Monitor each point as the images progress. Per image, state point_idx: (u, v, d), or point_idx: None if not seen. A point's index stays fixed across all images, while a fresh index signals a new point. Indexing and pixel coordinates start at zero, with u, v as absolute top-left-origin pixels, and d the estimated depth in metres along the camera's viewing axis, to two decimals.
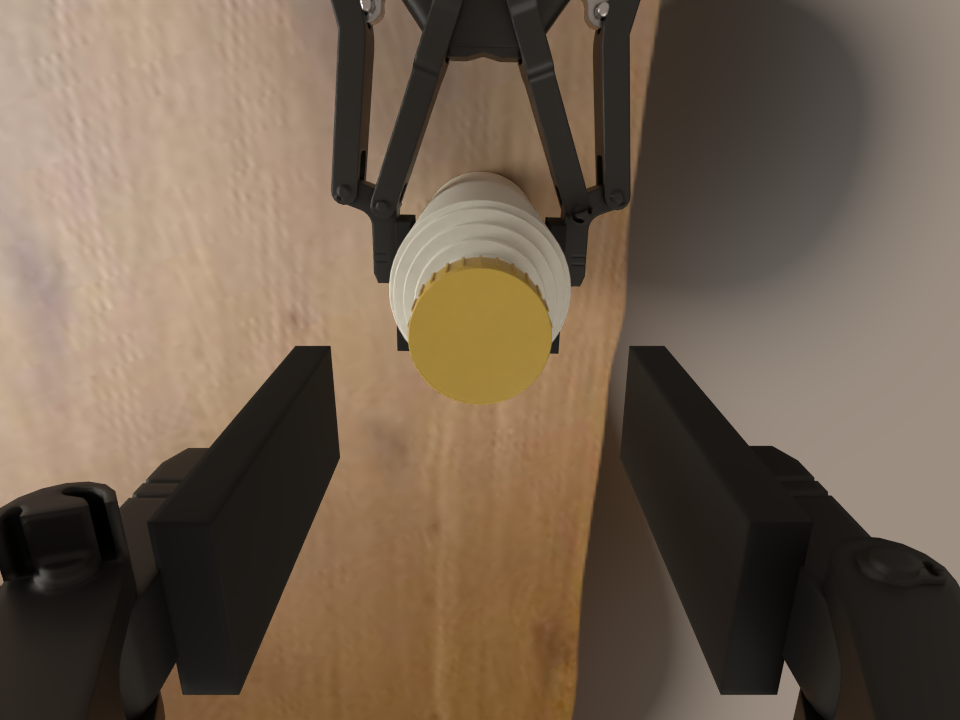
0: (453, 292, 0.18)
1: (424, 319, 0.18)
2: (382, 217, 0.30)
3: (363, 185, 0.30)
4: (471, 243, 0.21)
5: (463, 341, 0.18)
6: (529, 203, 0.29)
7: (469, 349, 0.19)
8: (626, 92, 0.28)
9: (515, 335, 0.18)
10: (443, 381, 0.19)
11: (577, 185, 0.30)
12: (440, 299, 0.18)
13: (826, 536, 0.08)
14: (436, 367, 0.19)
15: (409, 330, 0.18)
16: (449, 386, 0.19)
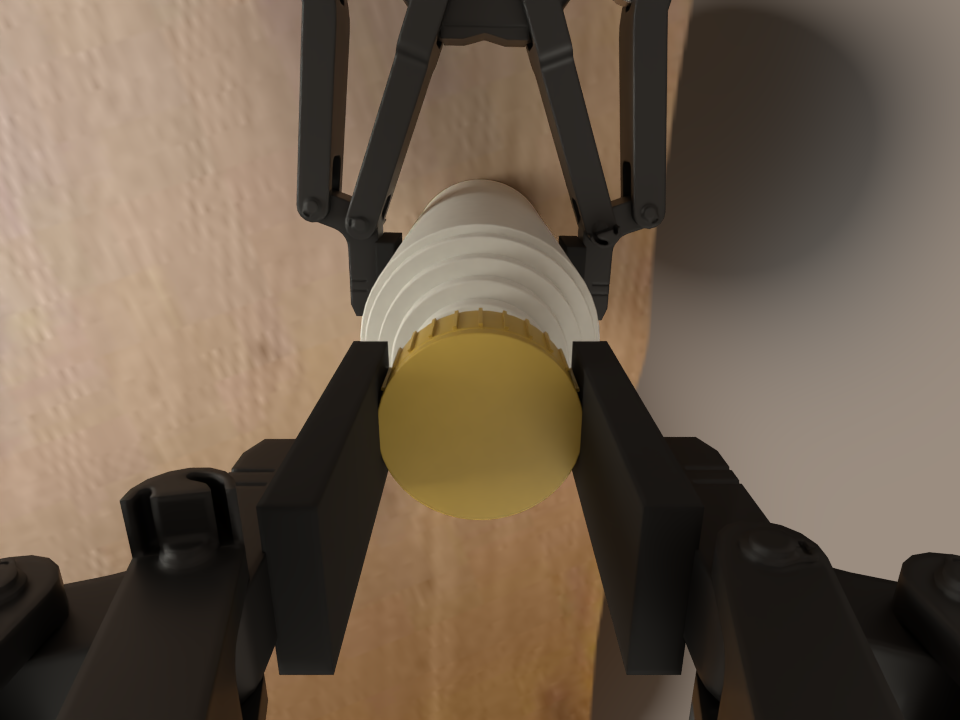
0: (441, 367, 0.12)
1: (399, 405, 0.13)
2: (360, 237, 0.25)
3: (336, 198, 0.25)
4: (468, 285, 0.15)
5: (456, 435, 0.13)
6: (541, 221, 0.24)
7: (465, 446, 0.13)
8: (662, 83, 0.23)
9: (531, 426, 0.13)
10: (428, 489, 0.13)
11: (600, 198, 0.24)
12: (422, 377, 0.12)
13: (726, 521, 0.09)
14: (417, 470, 0.13)
15: None
16: (436, 496, 0.13)
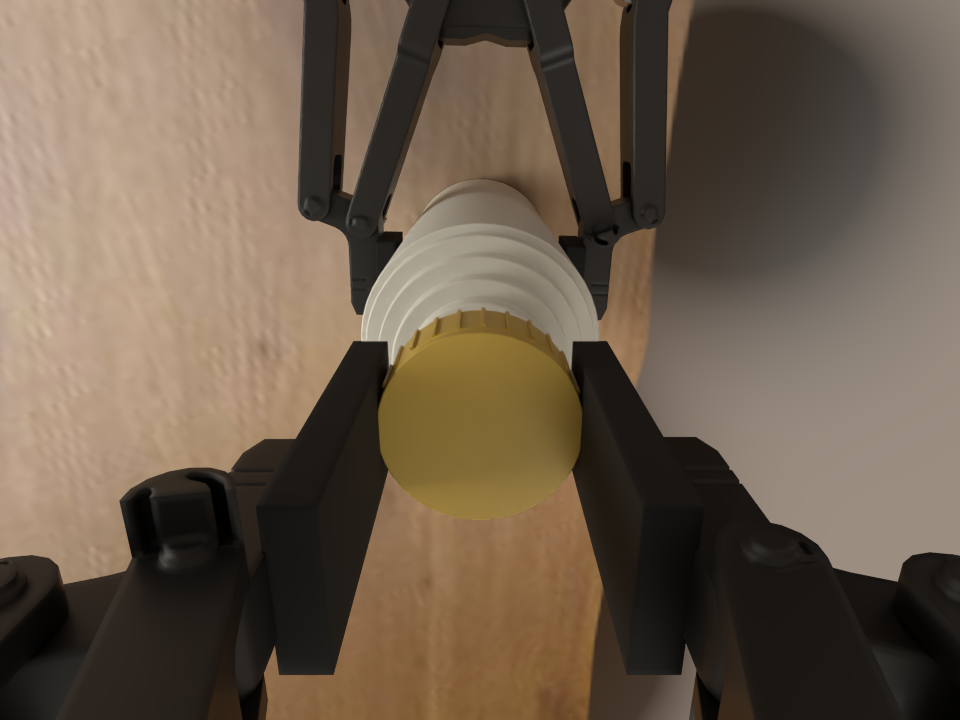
0: (428, 482, 0.13)
1: (478, 504, 0.13)
2: (360, 236, 0.25)
3: (337, 197, 0.25)
4: (469, 283, 0.16)
5: (491, 450, 0.13)
6: (541, 221, 0.24)
7: (500, 440, 0.13)
8: (663, 84, 0.23)
9: (457, 388, 0.12)
10: (559, 457, 0.13)
11: (600, 198, 0.24)
12: (444, 494, 0.13)
13: (727, 521, 0.09)
14: (541, 472, 0.13)
15: (500, 516, 0.13)
16: (563, 448, 0.13)
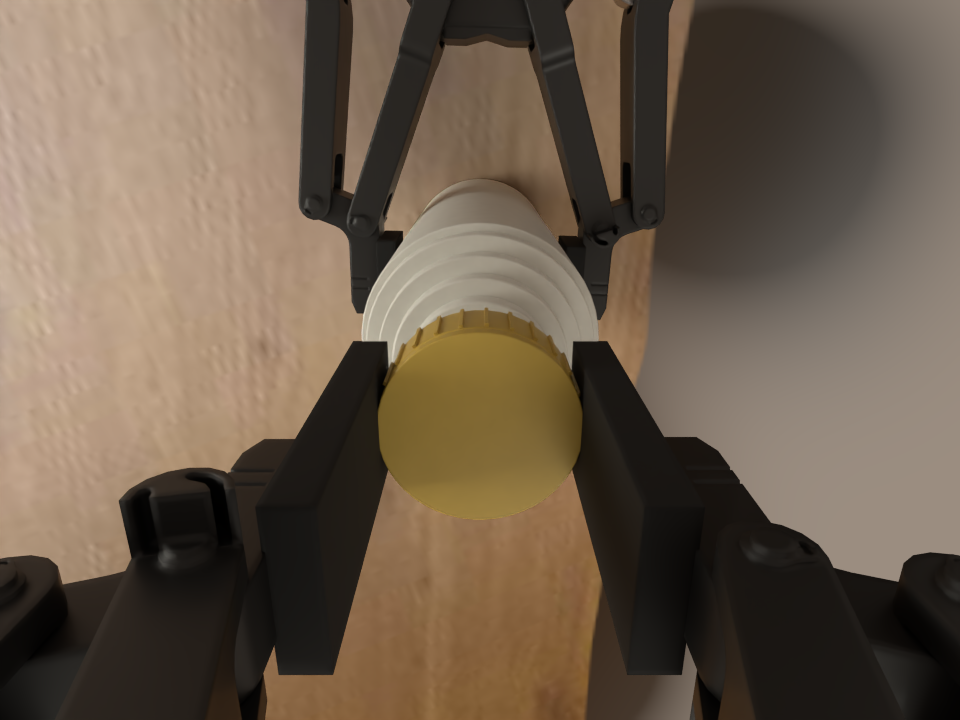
0: (550, 459, 0.13)
1: (561, 407, 0.13)
2: (361, 235, 0.25)
3: (338, 196, 0.25)
4: (469, 283, 0.16)
5: (496, 415, 0.13)
6: (541, 221, 0.24)
7: (482, 411, 0.13)
8: (663, 85, 0.23)
9: (444, 463, 0.13)
10: (481, 350, 0.12)
11: (600, 199, 0.24)
12: (559, 441, 0.13)
13: (728, 521, 0.09)
14: (503, 362, 0.12)
15: (570, 382, 0.12)
16: (469, 350, 0.12)
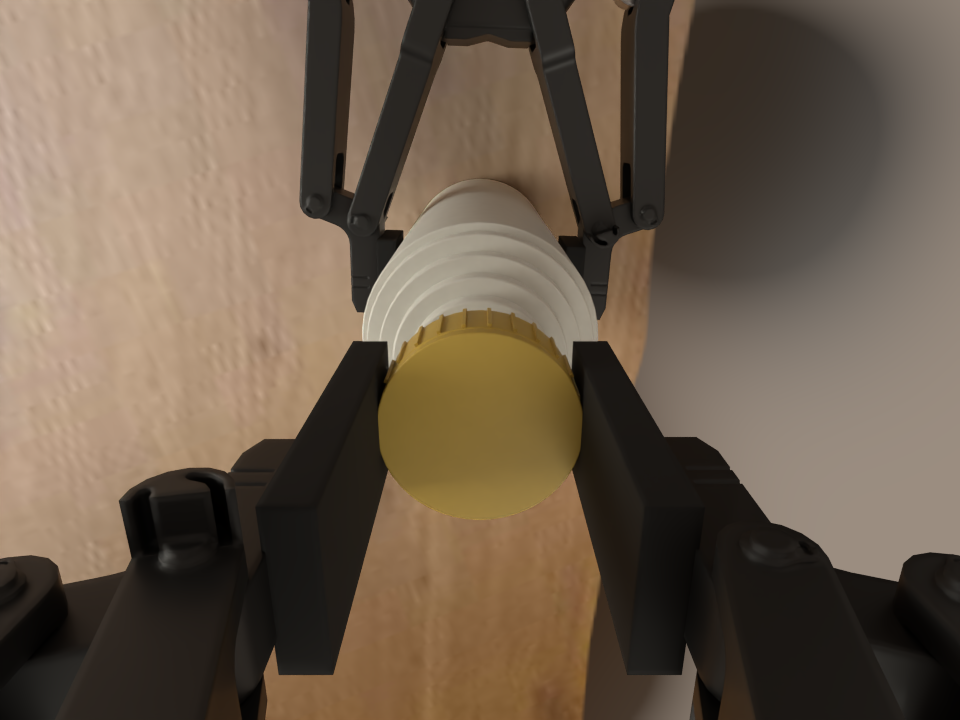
0: (486, 358, 0.12)
1: (427, 368, 0.12)
2: (362, 234, 0.25)
3: (339, 195, 0.25)
4: (470, 281, 0.16)
5: (457, 422, 0.13)
6: (541, 221, 0.24)
7: (458, 436, 0.13)
8: (663, 86, 0.23)
9: (526, 451, 0.13)
10: (400, 455, 0.13)
11: (600, 199, 0.24)
12: (464, 356, 0.12)
13: (728, 521, 0.09)
14: (402, 434, 0.13)
15: (398, 370, 0.12)
16: (403, 465, 0.13)
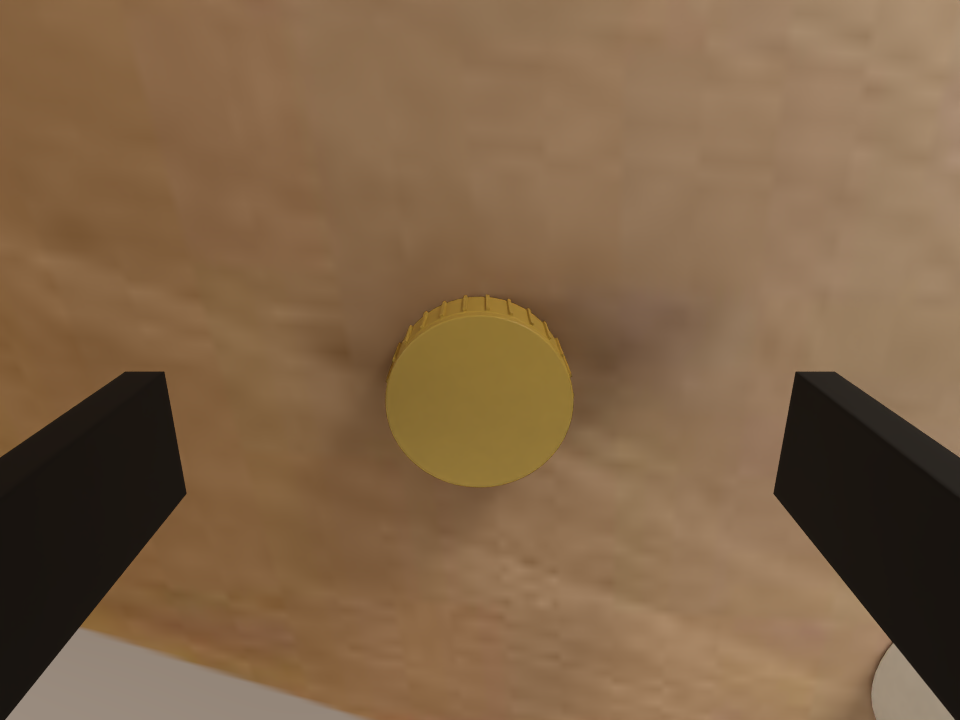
0: (484, 338, 0.14)
1: (431, 348, 0.14)
2: None
3: None
4: None
5: (459, 398, 0.14)
6: None
7: (460, 410, 0.14)
8: None
9: (521, 424, 0.14)
10: (407, 427, 0.14)
11: None
12: (464, 337, 0.14)
13: None
14: (409, 408, 0.14)
15: (405, 350, 0.14)
16: (410, 437, 0.14)
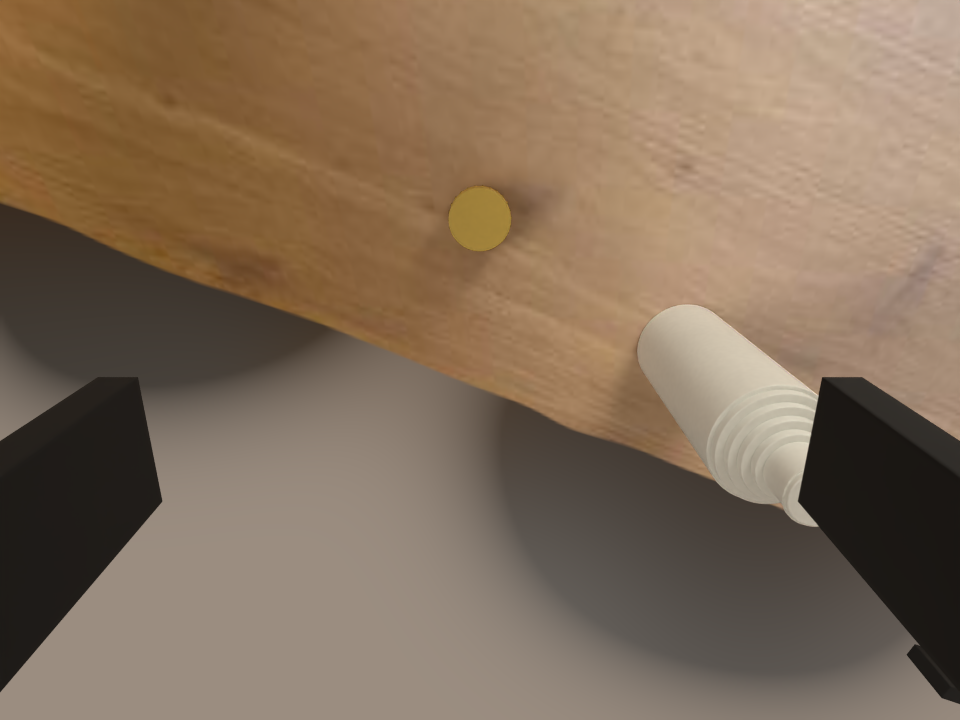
0: (481, 196, 0.42)
1: (464, 199, 0.42)
2: None
3: None
4: None
5: (473, 217, 0.43)
6: None
7: (473, 221, 0.43)
8: None
9: (493, 227, 0.43)
10: (455, 228, 0.43)
11: None
12: (475, 195, 0.42)
13: None
14: (456, 221, 0.43)
15: (455, 200, 0.42)
16: (456, 231, 0.43)
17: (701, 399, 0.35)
